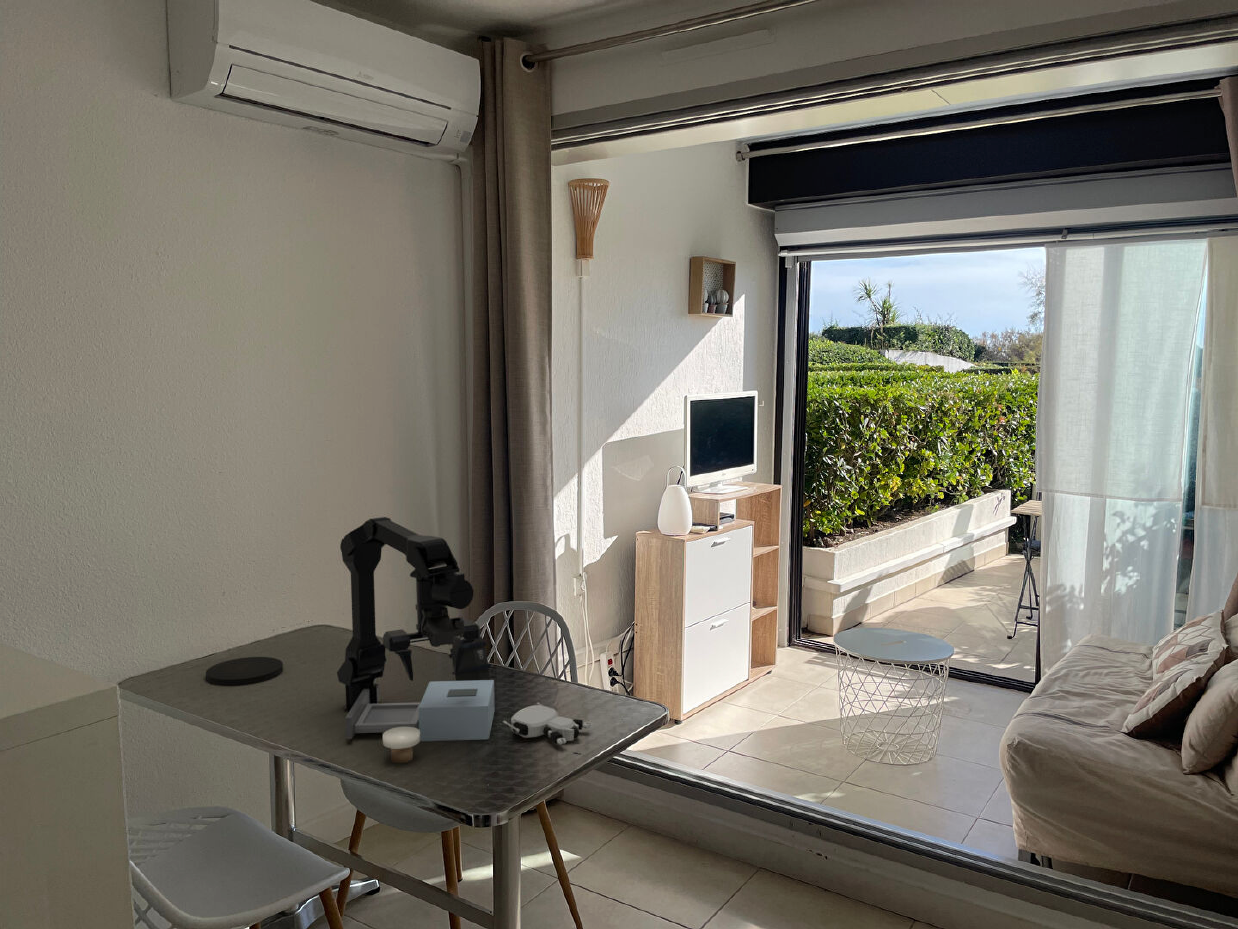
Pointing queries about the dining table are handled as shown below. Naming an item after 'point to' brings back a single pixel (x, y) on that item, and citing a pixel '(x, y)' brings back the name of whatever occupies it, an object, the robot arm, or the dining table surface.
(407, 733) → the cream disc
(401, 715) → the tray
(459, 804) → the dining table surface
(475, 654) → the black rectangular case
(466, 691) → the box
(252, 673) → the wireless charger
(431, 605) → the robot arm
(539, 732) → the robot toy
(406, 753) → the tan short cylinder
